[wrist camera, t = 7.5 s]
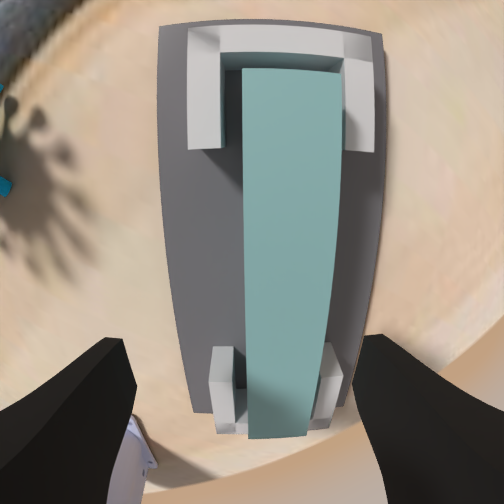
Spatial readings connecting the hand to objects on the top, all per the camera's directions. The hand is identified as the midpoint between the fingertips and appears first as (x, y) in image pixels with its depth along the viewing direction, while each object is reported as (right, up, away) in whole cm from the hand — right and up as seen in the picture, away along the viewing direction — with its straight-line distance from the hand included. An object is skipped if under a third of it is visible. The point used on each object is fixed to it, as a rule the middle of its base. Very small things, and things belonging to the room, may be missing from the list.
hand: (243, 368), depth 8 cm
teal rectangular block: (+1, +3, +7) cm, 8 cm away
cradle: (+1, +3, +8) cm, 9 cm away
